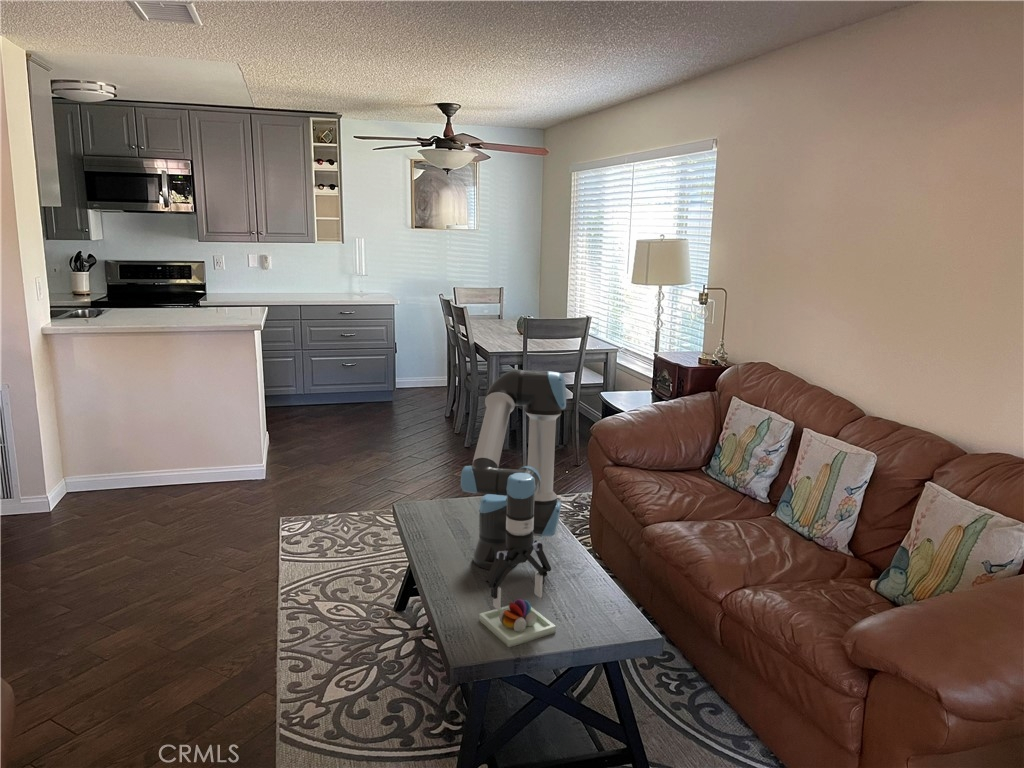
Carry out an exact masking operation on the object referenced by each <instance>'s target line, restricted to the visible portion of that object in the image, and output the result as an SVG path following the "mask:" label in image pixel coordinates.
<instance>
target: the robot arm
mask: <svg viewBox="0 0 1024 768" xmlns="http://www.w3.org/2000/svg"><path fill="white" fill-rule="evenodd" d="M566 389H567V387H566V382H565V378H564V375H563V374H562V373H561V372H559V371H550V370H524V369H523V370H522V369H513V370H510V371H507V372H505V373H504V374H502V375H500V376H499V377H498V378H497V379H496V380H494V382H492V384H491V386H490V387H489V388H488V391H487V392H486V395H485V400H484V404H485V412H484V417H483V420H482V423H481V424H482V425H481V428H480V432H479V436H478V439H477V444H476V448H475V452H474V455H473V460H472V465H465V466H463V468H462V469H461V473H460V488H461V490H462V491H463V492H465V493H471V494H481V495H483V496H482V497H481V498H480V502H479V509H478V512H479V516H478V518H479V522H478V524H479V525H478V527H479V528H478V532H479V533H478V540H477V543H476V546H475V549H474V551H473V559H472V560H473V563H474V565H476V566H477V567H479V568H480V569H481V568H482V569H485V570H489V571H488V573H487V575H486V578H485V580H484V585H486V587H488V588H489V589H490V597H491V598H492V606H493V608H495V609H497V610H501V605H502V604H501V602H502V588H501V587H500V586H501V584H502V582H503V581H504V579H505V577H506V576H508V573H510V570H511V569H512V568H514V567H515V566H517V565H519V564H521V563H522V564H523V563H526V562H527V561H528V562H529V563H530V565H532V567H533V568H534V569H535V570H536V572H534V595H535V596H536V597H538V598H539V599H541V598H543V586H544V585H545V582H546V581H545V580H546V578H545V577H547V576H548V572H551V571H552V567H551V565H550V563H549V561H548V559H547V556H546V554H545V552H544V550H543V549H544V546H543V544H542V542H540V541H538V540H537V539H536V540H534V536H535V537H539V538H543V537H545V538H546V537H554V536H555V535H556V533H557V528H558V525H559V521H560V516H561V510H562V502H561V501H560V500H558V494H556V493H555V491H554V475H555V474H554V473H555V472H554V471H555V450H556V449H555V448H556V429H557V428H556V426H557V419H558V418H559V417H560V416H561V415H562V410H565V409H566V408H567V390H566ZM518 406H519V407H524V408H525V409H524V410H525V411H524V412H525V414H526V415H527V416H528V417H529V424H528V427H529V428H528V447H527V465H525V466H521V467H520V468H518V469H516V468H515V469H513V468H500V467H499V465H500V460H501V456H502V450H503V448H504V447H503V446H504V442H505V438H506V435H507V434H506V433H507V430H508V429H507V428H508V424H509V420H510V414H511V413H512V412H513V411H514V409H515V408H516V407H518ZM533 551H535V553H536V555H537V557H538V559H539V562H540V563H539V562H537V560H535V558H534V556H532V552H533Z"/></svg>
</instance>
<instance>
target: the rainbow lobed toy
mask: <svg viewBox="0 0 1024 768" xmlns="http://www.w3.org/2000/svg"><path fill="white" fill-rule="evenodd" d="M531 607H532V605H531V603H530V602H529V601H528V600H523V599H521V598H518V599H516V600H515V601H514V602H510V603H509V608H510V610H503V611H502V612H501V613H500V616H499V619H500V621H501V623H502V624H504V626H506V627H509V628H513V627H514V630H515V631H516V632H521V631H523V630H524V629H525V627H526V626H533V625H534V624H535V623H536V620H537V617H536V615H535V613H534V612H532V611H531Z"/></svg>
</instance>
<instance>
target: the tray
mask: <svg viewBox="0 0 1024 768" xmlns="http://www.w3.org/2000/svg"><path fill="white" fill-rule="evenodd" d="M503 610H510V608H509V605H505V606H502V607H501V610H497V609H496V608H495V609H492V610H488V611H485V612H481V613H478V615H479V617H478V619H479V622H480V623H482V624H483V626H485V627H486V628H487V629H488V630H489V631H490V632H491V633H493V634H494V635H495V636H496V638H498V639H499V640H500V641H501V642H502V643H503V644H505V646H507V647H508V648H512V647H515V646H518V645H521V644H525V643H527V642H531V641H535V640H537V639H540V638H542V637H546V636H547V637H548V636H549V635H552V634H556V631H557V629H556V627H557V626H556V625H555V624H554V623H553V622H551V621H550V620H549V619H548V618H546V617H545V616H544V615H542V614H541V613H540V612H539V611H538V610H536V609H535V608H534V607H532V606H531V611H532V612H534V613H535V615H536V617H537V620H536V623H535V624H534V625H533V626H526V627H525V629H524V630H523V631H521V632H516V631H515V630H514V627H513V628H509V627H506V626H504V624H502V623H501V621H500V619H499V616H500V613H501V612H502V611H503Z"/></svg>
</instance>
